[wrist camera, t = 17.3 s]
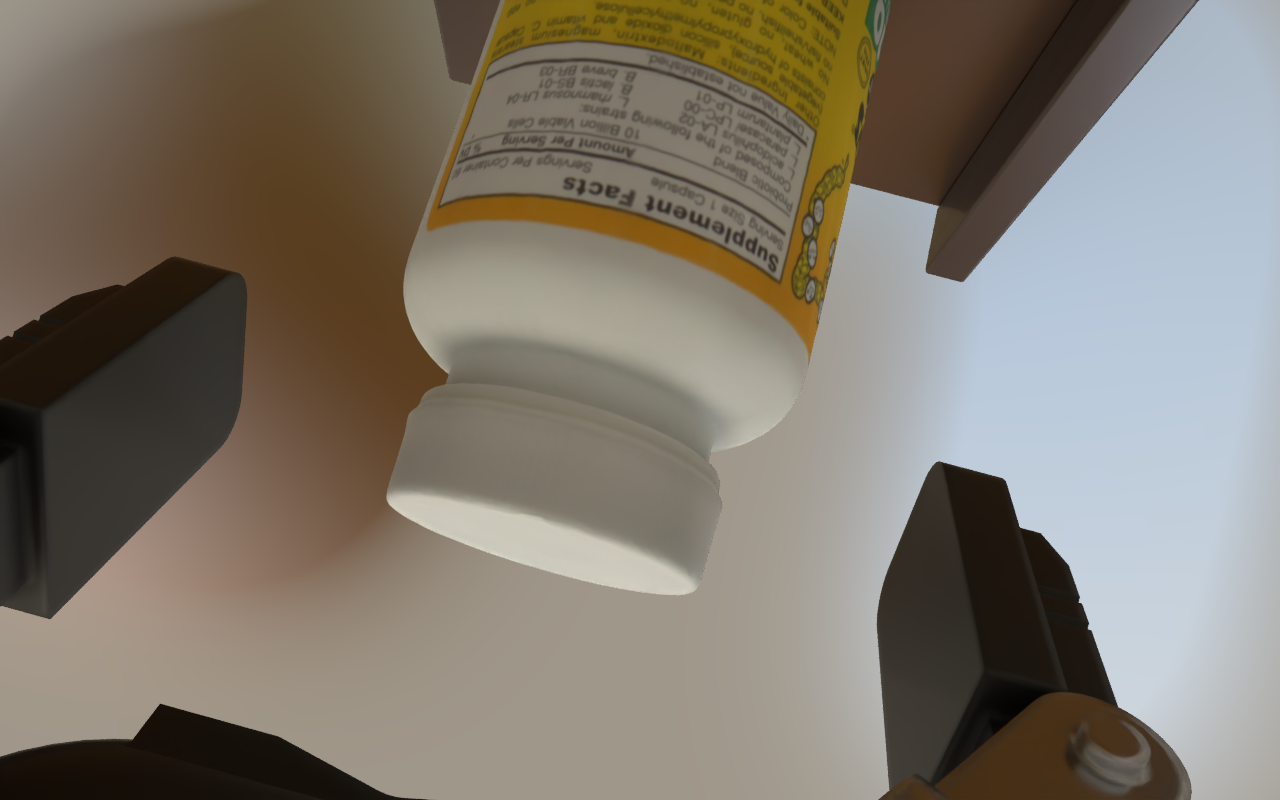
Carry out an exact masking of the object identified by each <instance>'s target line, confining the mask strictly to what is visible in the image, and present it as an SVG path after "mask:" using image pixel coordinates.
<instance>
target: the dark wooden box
mask: <svg viewBox="0 0 1280 800" xmlns="http://www.w3.org/2000/svg"><path fill="white" fill-rule="evenodd" d="M1198 1H1199V0H891V4H890V13H889V17H888V21H887V25H886V29H885V34H884V40H883V44H882V48H881V52H880V56H879V63H878V67H877V70H876V74H875V77H874V80H873V84H872V88H871V93H870V99H869V103H868V107H867V112H866V118H865V122H864V126H863V130H862V134H861V138H860V143H859V148H858V152H857V155H856V159H855V163H854V168H853V173H852V178H851V182H850V183H852V184H856V185H860V186H863V187H867V188H871V189H875V190H879V191H883V192H887V193H890V194H894V195H898V196H903V197H906V198H910V199H914V200H918V201H922V202H925V203H929V204H933V205H937V206H939V208H938V209H937V214H936V219H935V225H934V229H933V235H932V239H931V245H930V249H929V255H928V260H927V264H926V272H927V273H928V274H932V275H936V276H940V277H944V278H948V279H951V280H956V281H959V282H963V281H964V280H965V279H966V278H967V277H968V276H969V274H970V273H971V272H972V271H973V270H974V268H975V267H976V266H977V265H978V264H979V263H980V261H981V260H982V259H983V258H984V257H985V255H986V254H987V253H988V252H989V251H990V249H991V248H992V247H993V246H994V245H995V244H996V242H997V241H998V240H999V239H1000V238H1001V236H1002V235H1003V234H1004V233H1005V232H1006V230H1007V229H1008V228H1009V227H1010V226H1011V224H1012V223H1013V222H1014V221H1015V220H1016V218H1017V217H1018V216H1019V215H1020V214H1021V212H1022V211H1023V210H1024V209H1025V208H1026V206H1027V205H1028V204H1029V203H1030V202H1031V200H1032V199H1033V198H1034V197H1035V196H1036V195H1037V193H1038V192H1039V191H1040V189H1041V188H1042V187H1043V186H1044V185H1045V184H1046V183H1047V181H1048V180H1049V179H1050V178H1051V177H1052V175H1053V174H1054V173H1055V172H1056V171H1057V169H1058V168H1059V167H1060V166H1061V165H1062V163H1063V162H1064V161H1065V160H1066V158H1067V157H1068V156H1069V155H1070V154H1071V153H1072V151H1073V150H1074V149H1075V148H1076V147H1077V145H1078V144H1079V143H1080V142H1081V140H1083V138H1084V137H1085V136H1086V135H1087V133H1088V132H1089V131H1090V130H1091V129H1092V127H1093V126H1094V125H1095V124H1096V123H1097V122H1098V120H1099V119H1100V118H1101V117H1102V115H1103V114H1104V113H1105V112H1106V111H1107V110H1108V108H1109V107H1110V106H1111V105H1112V103H1113V102H1114V101H1115V100H1116V99H1117V98H1118V96H1119V95H1120V94H1121V93H1122V92H1123V91H1124V89H1125V88H1126V87H1127V86H1128V85H1129V83H1130V82H1131V81H1132V80H1133V78H1134V77H1135V76H1136V75H1137V74H1138V73H1139V71H1140V70H1141V69H1142V68H1143V67H1144V65H1145V64H1146V63H1147V62H1148V61H1149V59H1150V58H1151V57H1152V56H1153V55H1154V53H1155V52H1156V51H1157V50H1158V49H1159V47H1160V46H1161V45H1162V44H1163V43H1164V41H1165V40H1166V39H1167V38H1168V37H1169V36H1170V34H1171V33H1172V32H1173V31H1174V29H1175V28H1176V27H1177V26H1178V25H1179V24H1180V22H1181V21H1182V20H1183V19H1184V18H1185V16H1186V15H1187V14H1188V13H1189V12H1190V10H1191V9H1192V8H1193V7H1194V6H1195V4H1196V3H1197V2H1198ZM434 3H435V8H436V13H437V18H438V23H439V27H440V33H441V38H442V43H443V47H444V52H445V57H446V62H447V67H448V72H449V77H450V79H452V80H453V81H458V82H462V83H465V84H469V85H471V83H472V80H473V77H474V75H475V72H476V69H477V66H478V63H479V60H480V57H481V54H482V51H483V48H484V46H485V43H486V40H487V37H488V34H489V31H490V28H491V26H492V23H493V20H494V17H495V14H496V11H497V9H498V6H499V3H500V0H434Z"/></svg>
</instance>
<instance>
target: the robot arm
mask: <svg viewBox="0 0 1280 800" xmlns="http://www.w3.org/2000/svg"><path fill="white" fill-rule="evenodd" d="M246 309H247V288H246V283H245V280H244V278H243V277H242V275H241V274H239V273H236V272H232V271H229V270H225V269H221V268H217V267H214V266H210V265H206V264H202V263H199V262H195V261H191V260H187V259H184V258H180V257H171V258H169V259H167V260H165V261H164V262H162V263H161V264H159V265H157V266H156V267H154V268H153V269H151V270H149V271H148V272H146V273H145V274H143V275H142V276H140V277H138V278H137V279H135V280H134V281H132V282H131V283H129V284H127V285H126V286H121V285H114V286H110V287H106V288H103V289H99V290H95V291H91V292H87V293H84V294H80V295H76V296H73V297H71V298H69V299H67V300H66V301H64V302H62V303H61V304H59V305H57V306H56V307H54V308H52V309H51V310H49V311H47V312H46V313H44V314H42V315H41V316H40V319H39V321H37V320H33V321H31V322H29V323H28V324H26V325H24V326H23V327H21V328H19V329H18V330H16V331H14V335H13V337H10V336H6V337H4V338H3V339H1V340H0V606H4V607H8V608H11V609H15V610H19V611H23V612H26V613H30V614H33V615H37V616H40V617H44V618H48V619H51V618H52V617H53V616H54V615H55V614H56V613H57V612H58V611H59V610H60V609H61V608H62V607H63V606H64V605H65V604H66V603H67V602H68V601H69V600H70V599H71V598H72V597H73V596H74V595H75V594H76V593H77V592H78V591H79V590H80V589H81V588H82V587H83V586H84V584H86V583H87V582H88V580H90V578H92V577H93V576H94V575H95V574H96V573H97V572H98V570H100V569H101V568H102V566H104V564H105V563H106V562H107V561H108V560H109V559H110V558H111V557H112V556H113V555H114V554H115V553H116V552H117V551H118V550H119V549H120V548H121V547H122V546H123V545H124V544H125V543H126V542H127V541H128V540H129V539H130V538H131V537H132V536H133V535H134V534H135V533H136V532H137V531H138V530H139V529H140V528H141V527H142V526H143V525H144V524H145V523H146V522H147V521H148V520H149V519H150V518H151V517H152V516H153V515H154V514H155V513H156V512H157V511H158V510H159V509H160V508H161V507H162V506H163V505H164V504H165V503H166V502H167V501H168V500H169V499H170V498H171V497H172V496H173V495H174V494H175V493H176V492H177V491H178V490H179V489H180V488H181V487H182V486H183V485H184V484H185V483H186V482H187V481H188V480H189V479H190V478H191V477H192V476H193V475H194V474H195V473H196V472H197V471H198V470H199V469H200V468H201V467H202V466H203V465H204V464H205V463H206V462H207V460H208V459H210V458H211V457H212V455H214V454H215V453H216V452H217V450H218V449H219V448H220V447H221V446H222V445H223V444H224V442H225V441H226V440H227V438H228V436H229V434H230V432H231V431H232V428H233V426H234V424H235V421H236V418H237V415H238V412H239V408H240V403H241V396H242V382H243V381H242V380H243V364H244V345H245V328H246ZM1079 598H1080V596H1079V594H1078V591H1077V588H1076V585H1075V582H1074V579H1073V576H1072V574H1071V571H1070V568H1069V565H1068V564H1067V563H1066V562H1065V561H1064V560H1063V559H1062V557H1061V556H1060V555H1059V554H1058V553H1057V552H1056V551H1055V549H1054V548H1053V547H1052V546H1051V545H1050V543H1049V542H1048V541H1047V540H1046V539H1045V538H1044V537H1043V536H1042V534H1041V533H1037V532H1034V531H1030V530H1026V529H1022V528H1020V527H1019V523H1018V520H1017V517H1016V514H1015V510H1014V507H1013V503H1012V500H1011V497H1010V493H1009V490H1008V486H1007V484H1006V481H1005V480H1004V479H1003V478H999V477H996V476H992V475H988V474H984V473H981V472H977V471H973V470H969V469H965V468H961V467H958V466H954V465H951V464H947V463H943V462H936V463H935V464H934V465H933V466H932V468H931V469H930V471H929V472H928V474H927V476H926V478H925V481H924V483H923V486H922V488H921V490H920V493H919V495H918V498H917V500H916V502H915V505H914V507H913V510H912V512H911V515H910V517H909V520H908V522H907V525H906V527H905V530H904V532H903V534H902V537H901V539H900V542H899V544H898V546H897V549H896V551H895V554H894V557H893V559H892V561H891V564H890V566H889V568H888V571H887V574H886V577H885V580H884V583H883V587H882V591H881V595H880V600H879V607H878V613H877V634H878V647H879V659H880V673H881V686H882V699H883V711H884V725H885V738H886V751H887V764H888V777H889V790H890V791H888V792H887V793H886V794H885V795H883V796H882V797H881V798H880V799H879V800H1190V799H1191V793H1192V790H1191V783H1190V779H1189V777H1188V774H1187V771H1186V769H1185V767H1184V765H1183V764H1182V762H1181V760H1180V759H1179V757H1178V756H1177V755H1176V753H1175V752H1174V751H1173V749H1172V748H1171V747H1170V746H1169V745H1168V744H1167V743H1166V742H1165V741H1164V740H1163V738H1161V737H1160V736H1159V735H1158V734H1157V733H1156V732H1154V731H1153V730H1152V729H1151V728H1150V727H1149V726H1147V725H1146V724H1145V723H1143V722H1142V721H1141V720H1139V719H1137V718H1136V717H1134V716H1133V715H1131V714H1130V713H1128V712H1126V711H1124V710H1122V709H1121V708H1119V707H1118V705H1117V703H1116V700H1115V697H1114V694H1113V691H1112V688H1111V685H1110V682H1109V680H1108V677H1107V674H1106V671H1105V668H1104V665H1103V662H1102V659H1101V657H1100V654H1099V651H1098V648H1097V645H1096V642H1095V639H1094V637H1093V634H1092V631H1091V630H1088V625H1089V622H1088V619H1087V616H1086V614H1085V611H1084V608H1083V605H1082V604H1081V603H1079ZM0 800H426V799H409V798H399V797H394V796H390V795H386V794H384V793H382V792H380V791H378V790H376V789H374V788H372V787H370V786H369V785H367V784H365V783H363V782H361V781H359V780H358V779H356V778H354V777H352V776H350V775H348V774H347V773H345V772H343V771H341V770H339V769H337V768H336V767H334V766H332V765H330V764H328V763H326V762H324V761H323V760H321V759H319V758H317V757H315V756H313V755H311V754H310V753H308V752H306V751H304V750H302V749H301V748H299V747H297V746H295V745H293V744H291V743H289V742H287V741H286V740H284V739H282V738H280V737H278V736H274V735H271V734H267V733H263V732H260V731H256V730H253V729H249V728H245V727H242V726H239V725H235V724H231V723H227V722H224V721H221V720H217V719H213V718H210V717H206V716H202V715H199V714H195V713H191V712H188V711H184V710H181V709H177V708H174V707H170V706H166V705H163V704H160V705H159V706H158V707H157V708H156V710H155V711H154V713H153V714H152V715H151V716H150V718H149V719H148V720H147V722H146V723H145V724H144V725H143V727H142V728H141V729H140V731H139V732H138V733H137V735H136V736H135V737H134V739H133V740H130V739H101V740H82V741H73V742H65V743H58V744H51V745H46V746H42V747H37V748H32V749H27V750H23V751H18V752H15V753H11V754H8V755H4V756H1V757H0Z"/></svg>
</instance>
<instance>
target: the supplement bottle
mask: <svg viewBox="0 0 1280 800" xmlns="http://www.w3.org/2000/svg"><path fill="white" fill-rule="evenodd" d="M890 4H891V0H500V3H499V6H498V9H497V11H496V14H495V17H494V20H493V23H492V26H491V28H490V31H489V34H488V37H487V40H486V43H485V46H484V48H483V51H482V54H481V57H480V60H479V63H478V66H477V69H476V72H475V75H474V77H473V80H472V83H471V86H470V89H469V91H468V94H467V97H466V100H465V103H464V105H463V108H462V111H461V114H460V116H459V119H458V122H457V125H456V128H455V130H454V133H453V136H452V139H451V141H450V144H449V147H448V150H447V152H446V155H445V158H444V161H443V164H442V166H441V169H440V172H439V174H438V177H437V180H436V183H435V185H434V188H433V191H432V194H431V197H430V200H429V202H428V205H427V208H426V210H425V213H424V216H423V219H422V222H421V224H420V227H419V230H418V233H417V235H416V238H415V241H414V244H413V246H412V249H411V252H410V255H409V257H408V262H407V266H406V270H405V277H404V301H405V307H406V312H407V315H408V318H409V321H410V324H411V326H412V329H413V331H414V333H415V335H416V336H417V338H418V340H419V342H420V343H421V345H422V346H423V347H424V349H425V350H426V351H427V353H428V354H429V355H430V356H431V358H432V359H433V360H434V361H435V362H436V363H437V364H438V365H439V366H440V367H441V368H442V369H443V370H444V371H446V372H447V373H448V374H449V377H448V379H447V382H446V385H442V386H438V387H435V388H432V389H430V390H429V391H427V392H426V393H425V394H424V395H423V397H422V399H421V402H420V404H419V406H418V407H416V408H415V409H413V410H412V412H411V413H410V414H409V416H408V419H407V425H406V431H405V435H404V438H403V442H402V445H401V448H400V451H399V454H398V458H397V461H396V464H395V467H394V470H393V473H392V476H391V480H390V483H389V486H388V490H387V501H388V503H389V505H390V506H391V507H393V508H394V509H395V510H396V511H397V512H399V513H400V514H402V515H403V516H405V517H406V518H408V519H410V520H412V521H414V522H416V523H418V524H419V525H421V526H423V527H425V528H427V529H429V530H432V531H434V532H436V533H439V534H441V535H444V536H446V537H449V538H451V539H454V540H456V541H458V542H461V543H463V544H466V545H469V546H471V547H474V548H477V549H480V550H482V551H485V552H488V553H491V554H494V555H497V556H500V557H503V558H506V559H509V560H512V561H515V562H518V563H521V564H525V565H528V566H532V567H535V568H538V569H542V570H545V571H549V572H552V573H556V574H560V575H564V576H567V577H571V578H575V579H579V580H583V581H587V582H591V583H595V584H599V585H604V586H611V587H616V588H621V589H626V590H631V591H639V592H646V593H653V594H666V595H683V594H688V593H691V592H693V591H695V590H696V588H697V587H698V585H699V583H700V581H701V579H702V575H703V572H704V568H705V564H706V561H707V557H708V554H709V550H710V546H711V543H712V539H713V535H714V532H715V528H716V525H717V522H718V519H719V515H720V512H721V509H722V501H721V498H720V497H719V487H720V480H719V477H718V474H717V472H716V470H715V469H714V468H713V466H712V465H711V464H710V463H708V462H709V458H710V454H711V452H713V451H720V450H725V449H729V448H733V447H736V446H739V445H743V444H745V443H747V442H749V441H752V440H754V439H756V438H758V437H760V436H762V435H763V434H765V433H766V432H768V431H769V430H770V429H771V428H773V427H774V426H775V425H777V424H778V423H779V422H780V421H781V420H782V419H783V418H784V417H785V416H786V414H787V413H788V412H789V410H790V409H791V408H792V406H793V405H794V403H795V402H796V400H797V398H798V396H799V394H800V392H801V389H802V386H803V383H804V380H805V377H806V373H807V369H808V365H809V361H810V356H811V352H812V347H813V343H814V338H815V335H816V331H817V327H818V324H819V319H820V314H821V310H822V306H823V302H824V297H825V292H826V288H827V284H828V280H829V276H830V272H831V267H832V263H833V258H834V254H835V249H836V245H837V240H838V236H839V231H840V227H841V223H842V219H843V214H844V210H845V205H846V201H847V196H848V191H849V187H850V182H851V178H852V173H853V168H854V163H855V159H856V155H857V152H858V148H859V143H860V138H861V134H862V130H863V126H864V122H865V118H866V112H867V107H868V103H869V99H870V93H871V88H872V84H873V80H874V77H875V74H876V70H877V67H878V63H879V56H880V52H881V48H882V44H883V40H884V34H885V29H886V25H887V21H888V17H889V13H890Z"/></svg>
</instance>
